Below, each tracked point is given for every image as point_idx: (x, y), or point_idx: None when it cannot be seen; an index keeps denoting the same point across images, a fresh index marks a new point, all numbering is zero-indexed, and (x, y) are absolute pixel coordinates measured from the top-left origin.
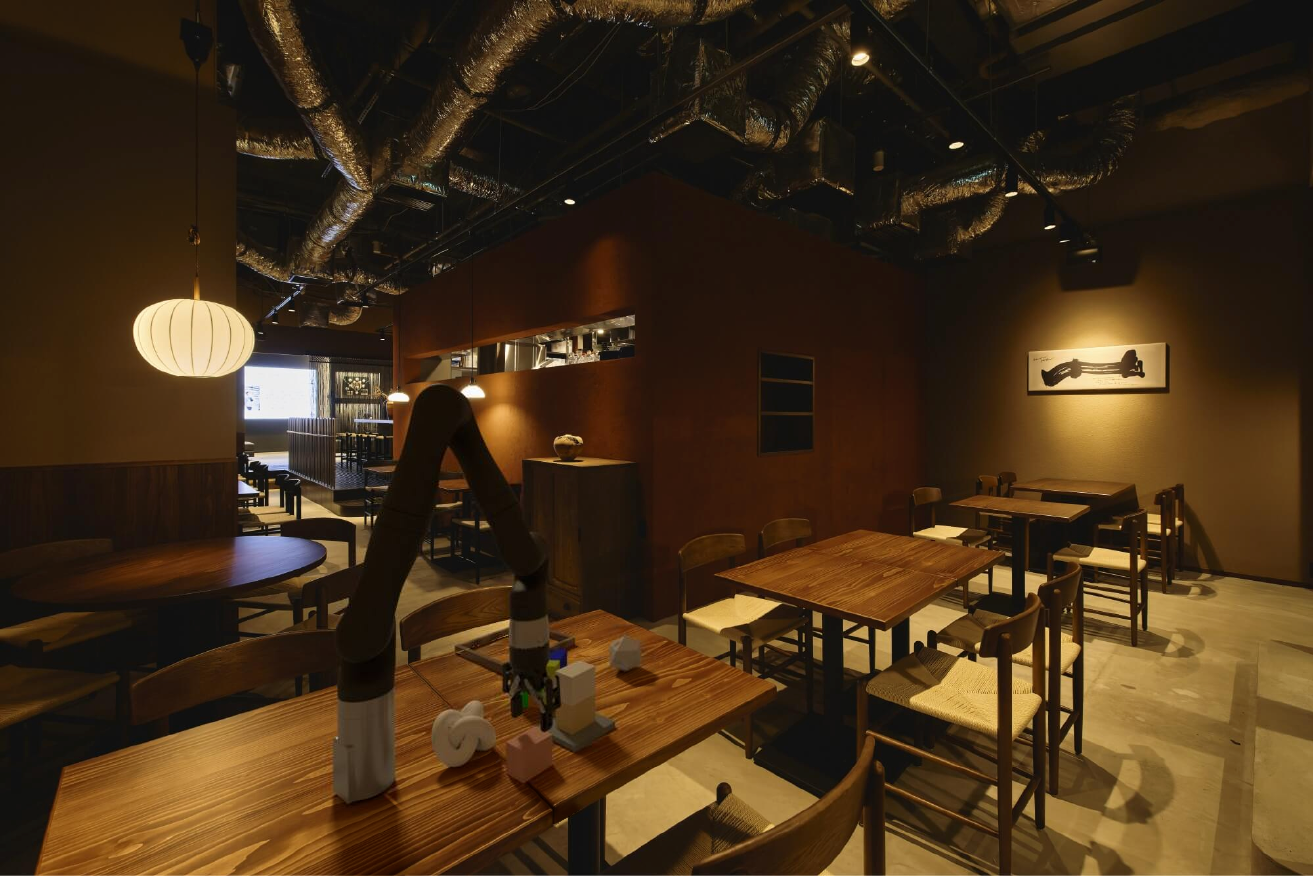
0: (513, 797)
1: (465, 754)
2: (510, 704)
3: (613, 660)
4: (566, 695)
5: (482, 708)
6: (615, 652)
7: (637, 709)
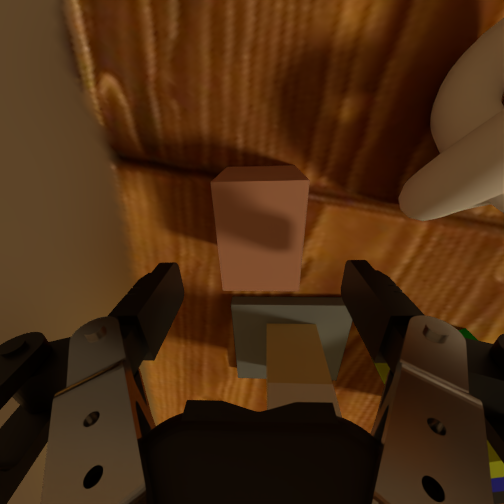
0: (198, 112)
1: (451, 101)
2: (406, 296)
3: None
4: None
5: None
6: None
7: (248, 404)
